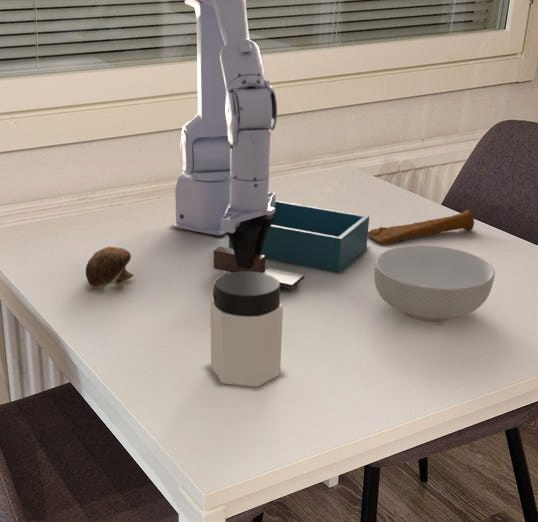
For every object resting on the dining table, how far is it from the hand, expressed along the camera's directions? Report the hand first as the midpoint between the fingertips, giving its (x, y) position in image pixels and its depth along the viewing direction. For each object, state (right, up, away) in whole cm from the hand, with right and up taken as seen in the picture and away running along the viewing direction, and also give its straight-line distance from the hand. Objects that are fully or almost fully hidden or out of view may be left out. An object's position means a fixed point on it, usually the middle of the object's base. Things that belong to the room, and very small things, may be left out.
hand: (247, 264), depth 147 cm
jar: (0, -19, -25) cm, 31 cm away
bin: (+8, +5, +13) cm, 16 cm away
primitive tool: (+30, +9, +20) cm, 37 cm away
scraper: (+1, -2, 0) cm, 2 cm away
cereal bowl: (+26, -9, -7) cm, 29 cm away
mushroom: (-21, -4, -1) cm, 21 cm away
